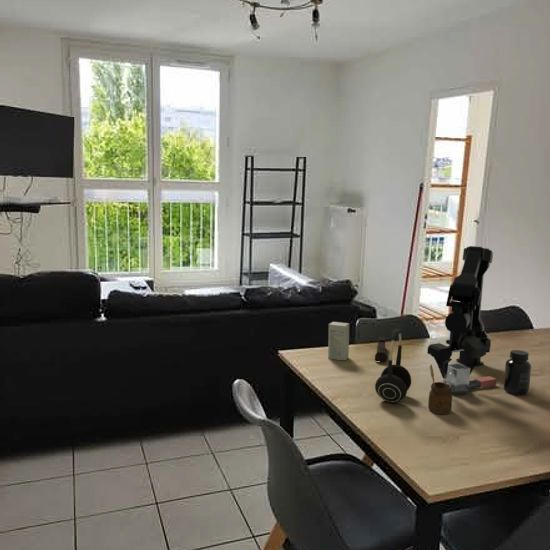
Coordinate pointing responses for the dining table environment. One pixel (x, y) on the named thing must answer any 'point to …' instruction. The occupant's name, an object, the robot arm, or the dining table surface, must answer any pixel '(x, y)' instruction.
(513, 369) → the supplement bottle
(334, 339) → the skincare box
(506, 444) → the dining table surface
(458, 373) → the square hollow container
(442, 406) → the utensil holder
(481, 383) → the ratchet
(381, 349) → the hand tool
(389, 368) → the headphones
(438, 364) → the robot arm
